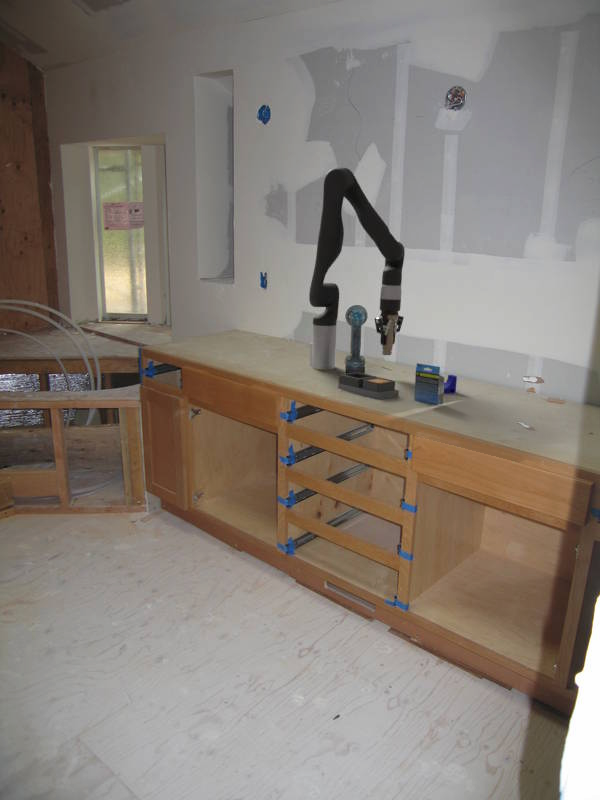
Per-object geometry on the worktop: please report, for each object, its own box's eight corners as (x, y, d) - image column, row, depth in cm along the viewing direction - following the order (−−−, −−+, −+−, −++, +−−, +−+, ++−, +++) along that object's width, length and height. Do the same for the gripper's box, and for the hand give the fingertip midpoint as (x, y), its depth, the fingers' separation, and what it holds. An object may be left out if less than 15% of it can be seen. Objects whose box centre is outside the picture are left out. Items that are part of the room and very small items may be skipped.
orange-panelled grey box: (337, 388, 222) (338, 374, 221) (356, 385, 228) (357, 372, 227) (379, 399, 207) (380, 384, 206) (398, 396, 213) (399, 381, 212)
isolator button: (365, 386, 214) (366, 380, 213) (378, 384, 217) (378, 378, 217) (378, 389, 209) (379, 383, 209) (391, 387, 213) (391, 381, 212)
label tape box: (443, 403, 205) (446, 365, 202) (437, 405, 202) (440, 366, 199) (419, 398, 210) (422, 361, 207) (413, 400, 207) (415, 363, 204)
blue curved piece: (448, 390, 224) (449, 374, 223) (455, 393, 220) (456, 376, 219) (418, 392, 220) (419, 375, 219) (425, 395, 216) (426, 378, 214)
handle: (391, 356, 234) (393, 315, 230) (376, 354, 237) (378, 314, 234) (397, 355, 237) (400, 314, 234) (382, 352, 241) (385, 313, 237)
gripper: (385, 299, 225) (382, 347, 229) (411, 297, 234) (407, 344, 238) (369, 297, 230) (367, 344, 235) (395, 296, 239) (392, 341, 244)
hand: (387, 344), depth 236 cm, fingers closed on handle, 4 cm apart
